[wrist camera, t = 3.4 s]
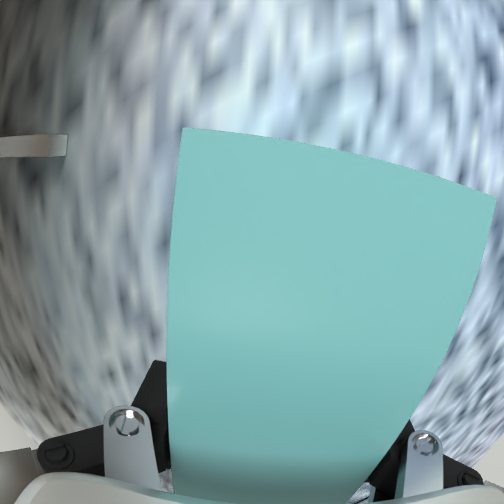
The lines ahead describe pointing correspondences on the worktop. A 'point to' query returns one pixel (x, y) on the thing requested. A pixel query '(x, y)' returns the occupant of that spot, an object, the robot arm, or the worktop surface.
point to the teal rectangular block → (305, 312)
